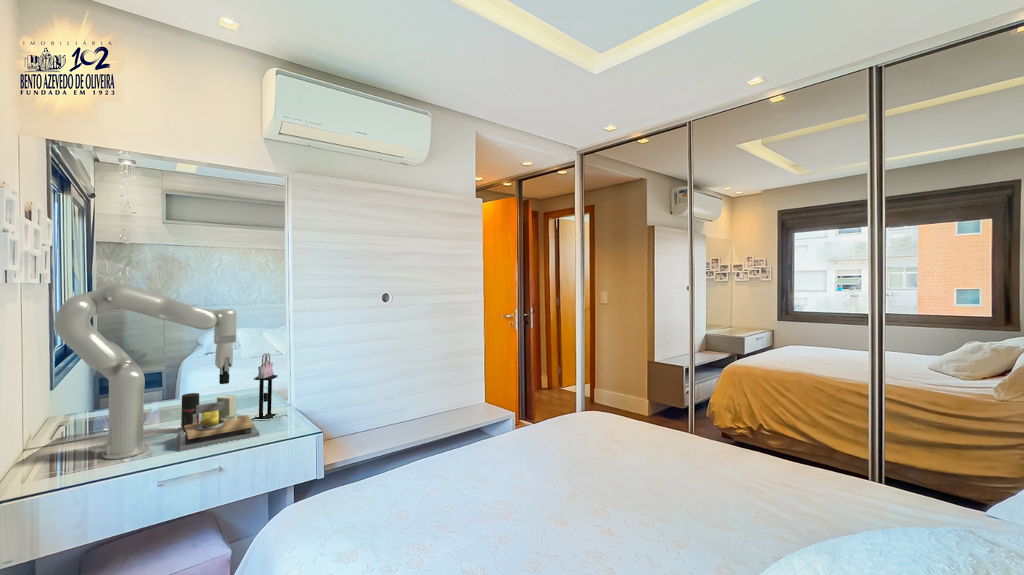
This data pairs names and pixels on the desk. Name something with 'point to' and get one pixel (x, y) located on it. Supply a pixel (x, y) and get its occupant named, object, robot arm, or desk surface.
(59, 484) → the desk surface
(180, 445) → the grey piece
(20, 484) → the desk surface
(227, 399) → the skincare box
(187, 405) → the deodorant
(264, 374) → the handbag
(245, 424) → the level plate
